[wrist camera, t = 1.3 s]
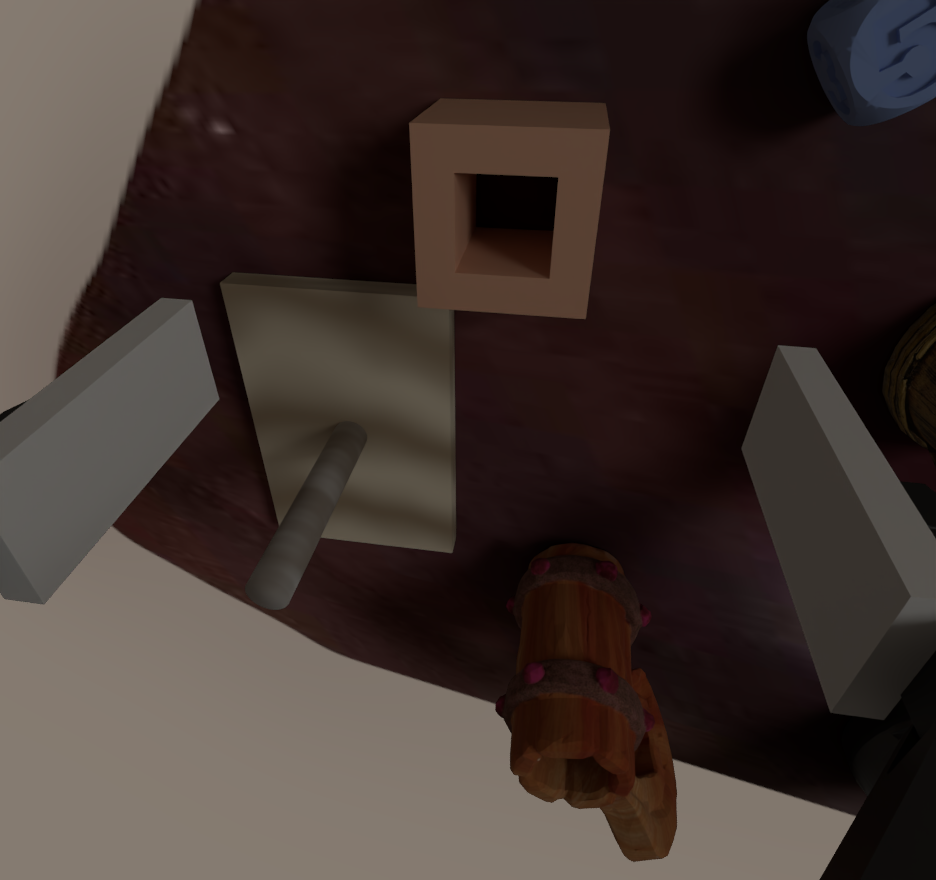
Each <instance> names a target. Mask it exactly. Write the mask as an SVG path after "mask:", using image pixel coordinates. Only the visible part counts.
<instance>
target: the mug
mask: <svg viewBox="0 0 936 880" xmlns="http://www.w3.org/2000/svg"><path fill="white" fill-rule="evenodd" d="M506 607H507V610H508V612H510V613H511V614H512V615H514V617H515V620H516V622H517V624H518V626H519V628H520V629H521V636H520V645H519V650H518V655H517V666H516V675H515V676H514V677H513V678H512V680H511V681H510V683H509V685H508V689H507V693H506V694H505V695H503V696H501V697H500V698H499V699H498V701H497V702H496V709H495V710H496V712H497V713H498V715H499V716H501V717H502V718H504V721H505V722H506V724H507V726H508V728H509V730H510V732H511V733H512V736H511V751H510V769H511V771H512V772H513V774H514V775H519V782H520V784H521V785H522V786H523V787H524V789H525V790H526V791H527V792H528V793H530V794H532V795H534V796H536V797H538V798H540V799H542V800H544V801H546V802H551V803H552V802H554V801H556V800H557V799H562V798H564V799H565V800H566V801H567V802H568V803H569V804H570V805H571V806H572V807H575V808H578V809H583V808H600V809H601V810H602V811H603V813H604V814H605V816H606V819H607V821H608V823H609V826H610V828H611V830H612V833H613V835H614V837H615V839H616V841H617V843H618V845H619V847H620V849H621V850H622V852H623V854H624V856H625V857H627V858H628V859H629V860H631V861H633V862H635V861H643V860H652V859H662V858H664V857H666V856H668V854H669V851H670V848H671V846H672V843H673V840H674V836H675V832H676V829H677V813H676V797H677V789H676V780H675V773H674V766H673V760H672V755H671V751H670V746H669V742H668V737H667V733H666V729H665V726H664V723H663V720H662V717H661V714H660V711H659V707H658V704H657V702H656V699H655V697H654V694H653V691H652V689H651V686H650V684H649V682H648V680H647V678H646V675H645V672H644V671H643V670H642V669H641V668H638V669H631V649H630V647H631V645H632V643H633V642H634V640H635V638H636V636H637V633H638V631H639V629H640V628H641V627H645V626H646V625H647V624H648V623H649V622H650V620H651V612H650V611H649V610H648V609H647V608H646V607H645V606H643V605H642V604H640V603H639V601H638V598H637V595H636V592H635V591H634V589H633V587H632V586H631V584H630V582H629V581H628V580H627V579H626V577H625V575H624V572H623V569H622V567H621V565H620V563H619V562H618V560H617V559H616V558H614V557H613V556H612V555H611V554H609V553H608V552H606V551H604V550H602V549H598V548H595V547H592V546H589V545H583V544H577V543H566V544H560V545H555V546H551V547H549V548H548V549H547V550H544V551H542V552H541V553H539V554H538V555H536V556H535V557H534V558H533V559H532V561H531V562H530V564H529V568H528V570H527V571H526V573H525V574H524V575H523V576H522V578H521V580H520V582H519V584H518V588H517V592H516V594H515V596H512V597H511V598H510V599H509V600H508V602H507V605H506Z"/></svg>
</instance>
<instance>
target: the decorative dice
mask: <svg viewBox="0 0 936 880" xmlns="http://www.w3.org/2000/svg"><path fill="white" fill-rule="evenodd" d="M807 42H808V48H809V52H810V56H811V60H812V63H813V66H814V69H815V71H816V74H817V76H818V79H819V81H820V83H821V86H822V88H823V90H824V92H825V94H826V96H827V98H828V99H829V101H830V103H831V105H832V106H833V108H834V109H835V111H836V112H837V114H838V115H839V116H840V117H841V118H842V120H843V121H845V122H846V123H847V124H849V125H854V126H867V125H872V124H876V123H879V122H883V121H886V120H889V119H891V118H894V117H897V116H899V115H901V114H904V113H906V112H908V111H910V110H913V109H915V108H917V107H919V106H921V105H922V104H924V103H926V102H928V101H930V100H932V99H933V98H935V97H936V0H829V1H828V2H827V3H826V4H824V5H823V6H822V7H821V8H820V9H819V10H818V11H817V12H816V14H815V15H814V16H813V18H812V21H811V23H810V26H809V28H808V31H807Z"/></svg>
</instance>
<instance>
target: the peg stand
mask: <svg viewBox="0 0 936 880" xmlns="http://www.w3.org/2000/svg"><path fill="white" fill-rule="evenodd" d="M220 286H221V290H222V294H223V298H224V303H225V307H226V311H227V315H228V319H229V323H230V327H231V331H232V335H233V339H234V343H235V348H236V352H237V356H238V360H239V364H240V368H241V372H242V376H243V380H244V384H245V388H246V393H247V397H248V401H249V405H250V409H251V413H252V417H253V421H254V425H255V429H256V433H257V438H258V442H259V446H260V450H261V454H262V458H263V462H264V466H265V470H266V474H267V478H268V483H269V487H270V491H271V495H272V499H273V503H274V507H275V511H276V515H277V519H278V523H279V528H278V529H277V531H276V533H275V535H274V536H273V538H272V540H271V542H270V543H269V545H268V547H267V549H266V550H265V552H264V554H263V556H262V557H261V559H260V561H259V563H258V565H257V566H256V568H255V570H254V572H253V573H252V575H251V577H250V579H249V580H248V582H247V584H246V586H245V591H246V594H247V595H248V597H249V598H250V599H251V600H252V601H253V602H254V603H256V604H258V605H259V606H262V607H264V608H268V609H274V610H277V609H282V608H285V607H286V606H287V605H288V604H289V602H290V600H291V598H292V596H293V594H294V592H295V589H296V587H297V585H298V583H299V581H300V579H301V577H302V575H303V573H304V571H305V569H306V567H307V564H308V562H309V560H310V558H311V556H312V554H313V552H314V550H315V548H316V546H317V544H318V542H319V540H320V537H321V538H329V539H338V540H346V541H355V542H363V543H372V544H380V545H389V546H397V547H406V548H414V549H423V550H431V551H440V552H448V553H452V552H453V548H454V544H455V539H456V472H455V359H454V310H449V309H435V308H420V307H418V303H417V284H403V283H387V282H372V281H357V280H342V279H326V278H311V277H296V276H280V275H265V274H250V273H235V272H233V273H232V274H230V275H229V276H228V277H227V278H225V279H224V280H223V281H222V282H221V283H220Z"/></svg>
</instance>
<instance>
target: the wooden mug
mask: <svg viewBox="0 0 936 880" xmlns="http://www.w3.org/2000/svg"><path fill="white" fill-rule="evenodd" d="M882 393H883V395H884V398H885V401H886V404H887V406H888V409H889V412H890V413H891V415H892V417H893V418H894V420H895V422H896V423H897V425H898V426H899V428H900V430H901V431H903V432H904V433H905V434H906V435H908V436H909V437H910V438H911V439H913V440H914V441H915V442H917V443H918V444H919V445H921V446H922V447H924V448H926V449H928V450H929V452H930V455H931V457H932V459H933V462H934V464H935V467H936V303H935V304H934V305H932V306H931V307H930V308H929V309H928V310H927V311H926V312H925V313H924V314H923V315H921V316H920V317H919V318H918V319H917V320H916V321H915V322H914V323H913V324H912V325H911V326H910V327H909V328H908V330H907V331H906V333H905V334H904V335H903V337H902V338H901V340H900V341H899V342H898V344H897V345H896V347H895V349H894V351H893V353H892V355H891V357H890V359H889V361H888V363H887V365H886V367H885V371H884V379H883V387H882Z"/></svg>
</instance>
